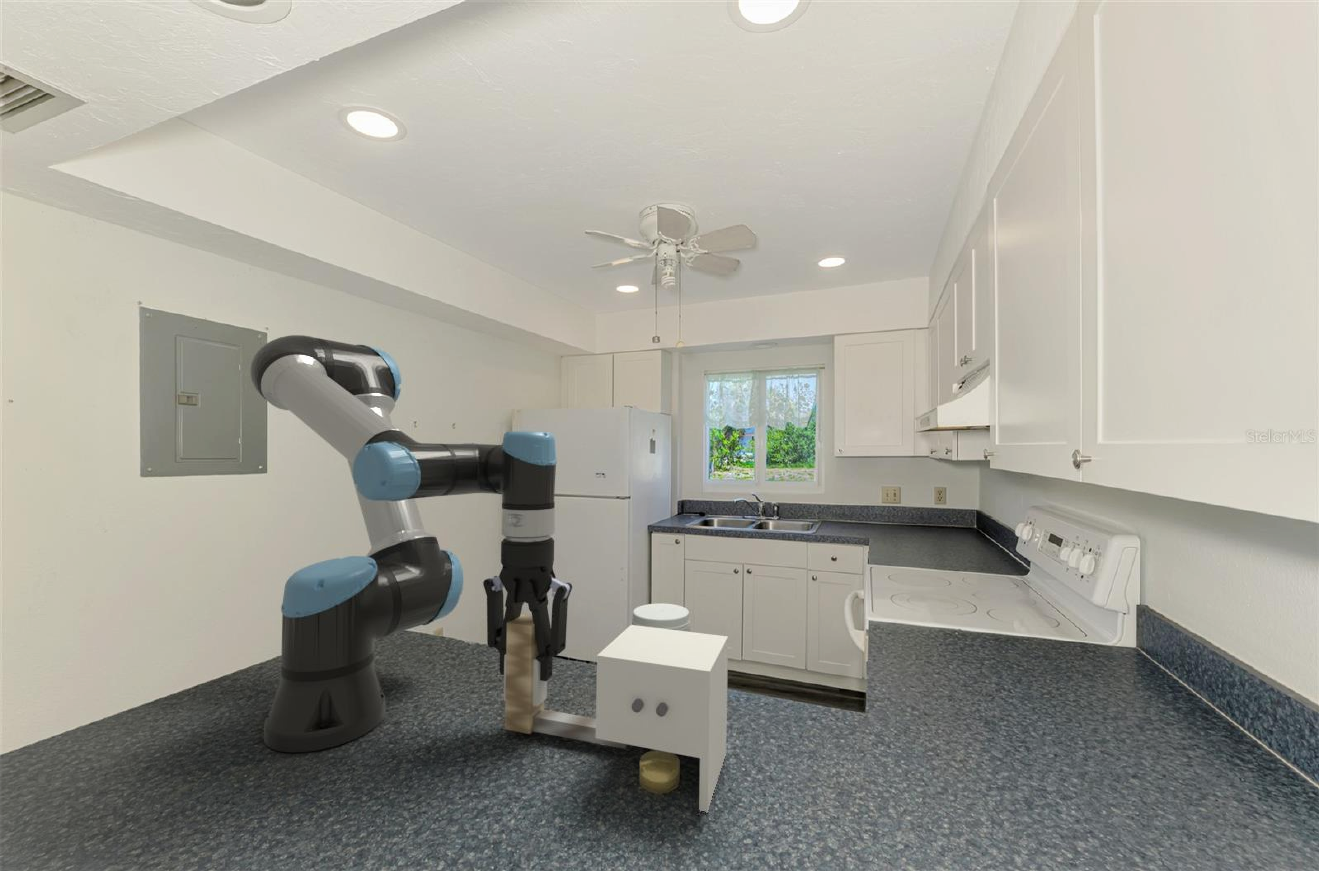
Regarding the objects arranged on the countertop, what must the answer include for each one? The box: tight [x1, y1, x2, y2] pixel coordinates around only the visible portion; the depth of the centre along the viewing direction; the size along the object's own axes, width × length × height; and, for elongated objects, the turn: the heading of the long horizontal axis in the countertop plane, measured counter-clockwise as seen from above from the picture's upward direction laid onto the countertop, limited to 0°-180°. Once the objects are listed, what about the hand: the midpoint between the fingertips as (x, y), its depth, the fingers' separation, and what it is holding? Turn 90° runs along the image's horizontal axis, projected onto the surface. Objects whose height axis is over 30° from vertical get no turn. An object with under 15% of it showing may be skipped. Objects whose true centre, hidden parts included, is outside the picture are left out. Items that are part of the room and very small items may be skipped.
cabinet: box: [595, 624, 729, 814], centre depth 69 cm, size 14×13×16 cm
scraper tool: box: [504, 614, 628, 750], centre depth 76 cm, size 18×4×15 cm, turn 73°
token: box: [638, 749, 681, 794], centre depth 67 cm, size 5×5×2 cm
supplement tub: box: [631, 602, 691, 632], centre depth 88 cm, size 10×10×15 cm
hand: (525, 698), depth 78 cm, fingers closed on scraper tool, 4 cm apart
